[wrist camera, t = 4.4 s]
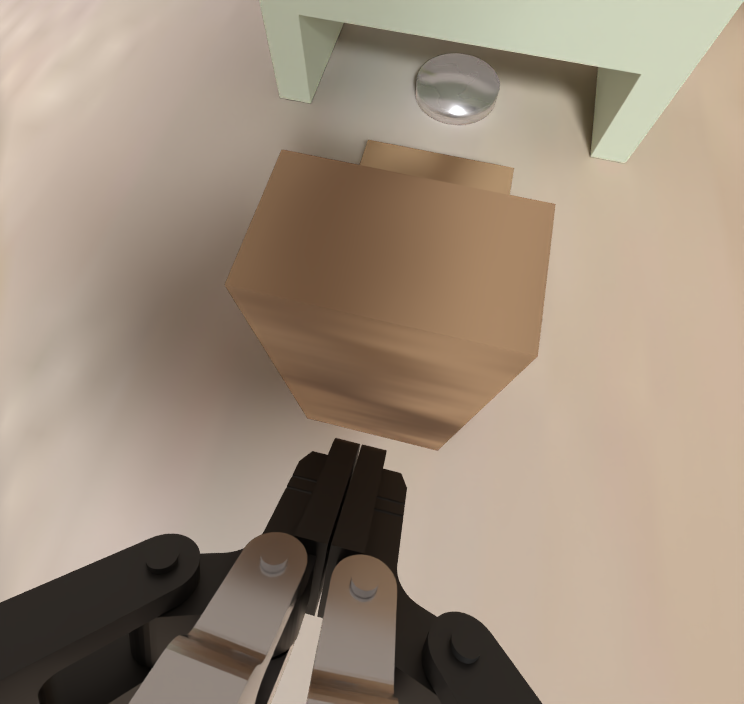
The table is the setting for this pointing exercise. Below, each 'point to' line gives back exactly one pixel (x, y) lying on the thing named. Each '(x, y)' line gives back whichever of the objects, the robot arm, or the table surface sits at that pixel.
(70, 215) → the table surface
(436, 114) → the disc
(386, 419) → the brown wooden block
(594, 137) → the pale green bench
